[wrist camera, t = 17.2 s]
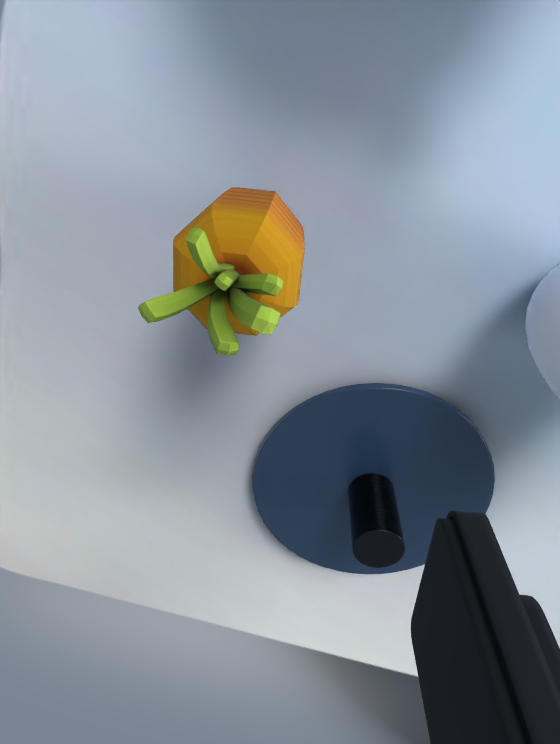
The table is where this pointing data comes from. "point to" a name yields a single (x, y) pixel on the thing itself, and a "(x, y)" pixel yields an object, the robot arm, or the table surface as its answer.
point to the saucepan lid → (369, 476)
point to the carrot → (235, 267)
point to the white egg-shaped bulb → (546, 328)
